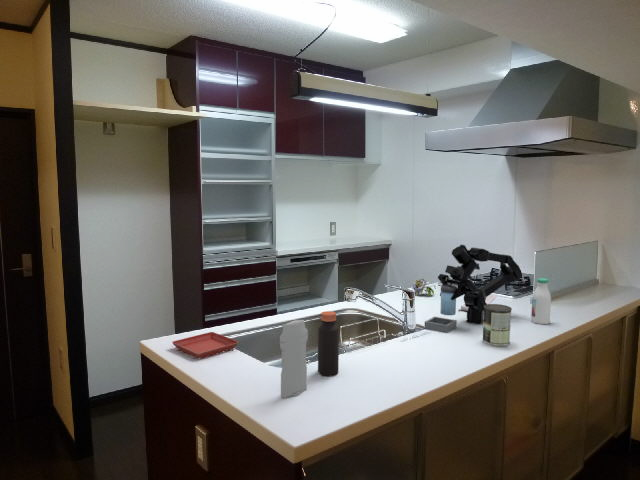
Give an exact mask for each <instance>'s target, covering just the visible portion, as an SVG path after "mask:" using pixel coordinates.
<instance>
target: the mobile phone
mask: <svg viewBox="0 0 640 480" xmlns="http://www.w3.org/2000/svg"><path fill="white" fill-rule="evenodd" d="M497 297H498V295H495V294H493V293H492V294H490V295H489V296H487V297H486V300H485V302H486V303H487V304H492V303H493V302H494V300H495V299H496V298H497ZM468 308H469V307H466V306H465V303H463V304H462V305H461V306H460V308H459V309H458V311H459V312H460V311H466V312H467V311H468Z"/></svg>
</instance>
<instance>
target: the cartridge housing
mask: <svg viewBox="0 0 640 480" xmlns="http://www.w3.org/2000/svg"><path fill="white" fill-rule="evenodd" d="M457 323H458V320H455V319H450V318H445V317H439V316H432V317H431V318H428V319H427V320H425V321H424V327H423V328H424V329H425V330H431V331H437V332H440V333H441V332H442V333H450V332H451V331H453V330H454V329H456V328H457V325H458V324H457Z"/></svg>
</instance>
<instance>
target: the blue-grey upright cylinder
mask: <svg viewBox="0 0 640 480" xmlns="http://www.w3.org/2000/svg"><path fill="white" fill-rule="evenodd" d="M457 287H458V285H454V284H452V285H440V293H441V296H440V314H441V315H443V316H456V311H457V310H456V309H457V308H456V307H457V306H456V305H457V298H456V299H454V300H452V299H451V297H452V296H453V294H454V292H455V291H456V289H457Z"/></svg>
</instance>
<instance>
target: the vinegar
mask: <svg viewBox="0 0 640 480" xmlns="http://www.w3.org/2000/svg"><path fill="white" fill-rule="evenodd" d="M320 322H321V325H319V326H318V328H317V373H318V375H321V376H324V377H334V376H336V375H338V373H339V360H340V359H339V353H340V351H339V350H340V349H339V348H340V347H339V346H340V345H339V344H340V343H339V341H340V337H339V336H340V329H339V328H340V327H339V326H337V324H336V323H337V312H335V311H331V310H329V311H327V310H326V311H322V312H320Z"/></svg>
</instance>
